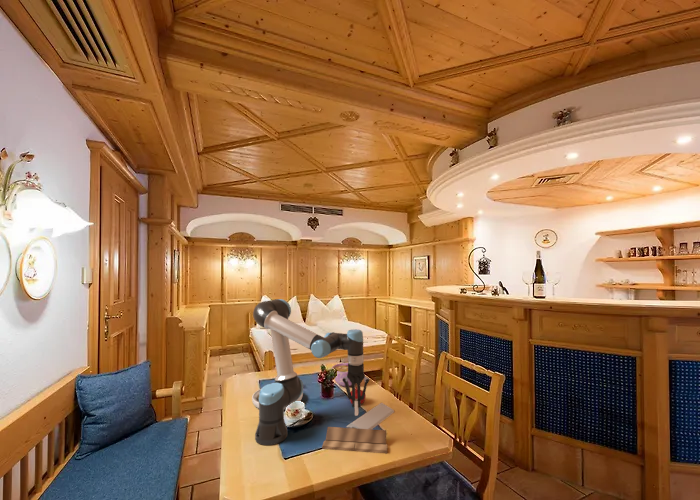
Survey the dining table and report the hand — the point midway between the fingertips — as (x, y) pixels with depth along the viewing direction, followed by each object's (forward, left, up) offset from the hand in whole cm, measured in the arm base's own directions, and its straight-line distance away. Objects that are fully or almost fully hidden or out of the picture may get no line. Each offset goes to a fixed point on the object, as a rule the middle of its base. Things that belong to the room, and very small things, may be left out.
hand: (356, 414), depth 148 cm
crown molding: (+5, +22, -13) cm, 26 cm away
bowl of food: (-15, +68, -12) cm, 71 cm away
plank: (0, 0, -10) cm, 10 cm away
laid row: (0, -6, -12) cm, 14 cm away
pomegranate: (-4, +41, -13) cm, 43 cm away
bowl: (-52, +37, -13) cm, 65 cm away
